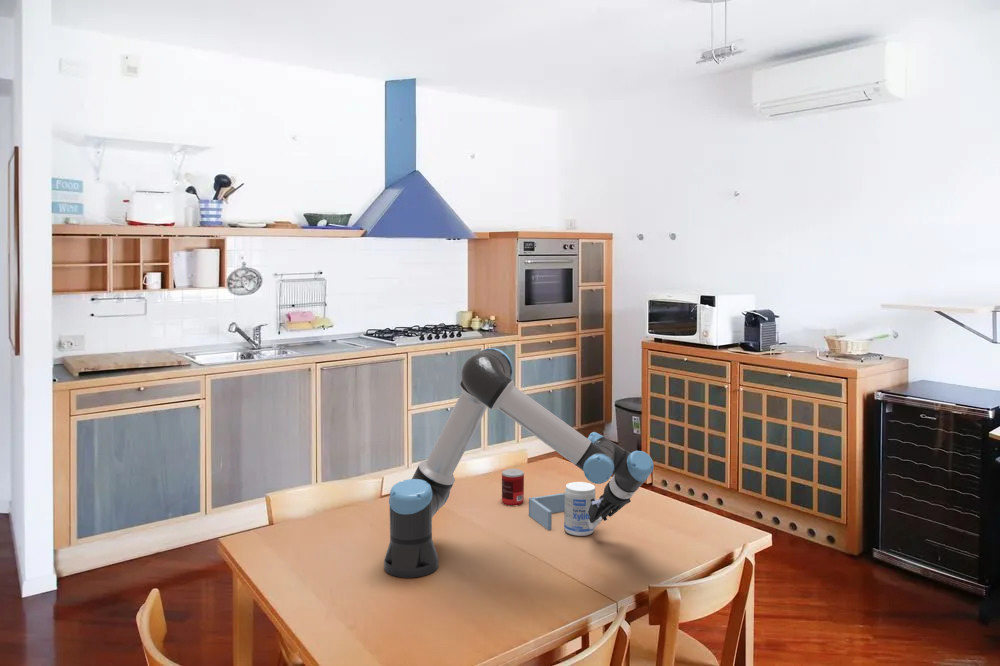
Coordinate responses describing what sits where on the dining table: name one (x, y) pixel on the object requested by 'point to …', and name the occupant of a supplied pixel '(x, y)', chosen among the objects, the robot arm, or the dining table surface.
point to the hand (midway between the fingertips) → (590, 525)
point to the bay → (546, 508)
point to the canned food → (512, 487)
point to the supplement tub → (578, 508)
